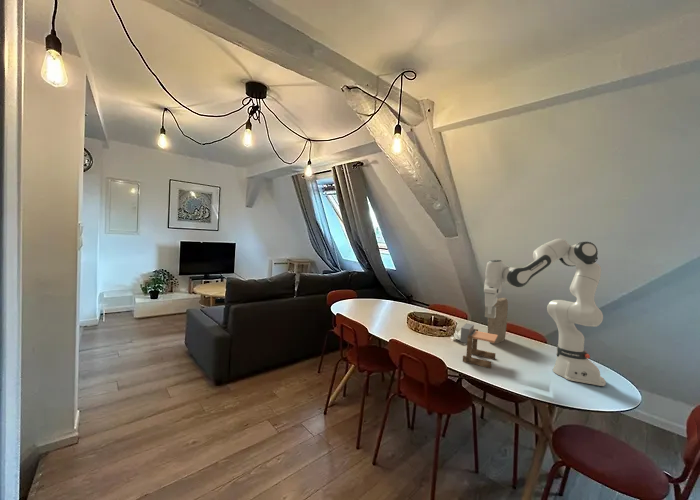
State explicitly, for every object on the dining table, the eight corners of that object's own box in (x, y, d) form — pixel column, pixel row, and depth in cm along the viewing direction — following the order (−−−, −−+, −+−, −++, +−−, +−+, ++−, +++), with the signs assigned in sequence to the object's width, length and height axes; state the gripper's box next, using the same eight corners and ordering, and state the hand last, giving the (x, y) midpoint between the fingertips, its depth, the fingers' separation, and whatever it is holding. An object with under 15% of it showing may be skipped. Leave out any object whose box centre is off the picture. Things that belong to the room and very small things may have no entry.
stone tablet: (494, 346, 203) (497, 300, 202) (482, 342, 209) (485, 298, 208) (507, 340, 216) (510, 298, 215) (495, 337, 222) (498, 296, 221)
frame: (462, 361, 173) (464, 334, 173) (469, 352, 189) (470, 328, 188) (490, 368, 166) (492, 340, 165) (495, 358, 181) (497, 333, 180)
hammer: (460, 341, 176) (461, 328, 176) (465, 336, 188) (466, 323, 188) (493, 349, 167) (494, 334, 166) (497, 342, 178) (498, 328, 178)
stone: (495, 317, 175) (496, 306, 175) (494, 318, 171) (495, 307, 171) (486, 315, 178) (486, 305, 177) (484, 316, 173) (485, 306, 173)
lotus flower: (449, 343, 203) (450, 330, 203) (450, 337, 218) (451, 325, 217) (472, 347, 199) (473, 334, 198) (472, 340, 213) (472, 328, 212)
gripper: (489, 286, 184) (487, 309, 185) (483, 289, 167) (481, 314, 167) (501, 287, 181) (498, 311, 181) (496, 291, 164) (494, 316, 164)
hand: (490, 312), depth 174 cm, fingers closed on stone, 5 cm apart
